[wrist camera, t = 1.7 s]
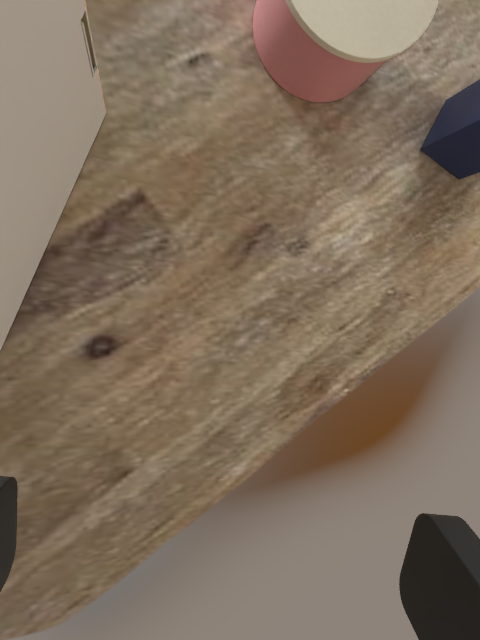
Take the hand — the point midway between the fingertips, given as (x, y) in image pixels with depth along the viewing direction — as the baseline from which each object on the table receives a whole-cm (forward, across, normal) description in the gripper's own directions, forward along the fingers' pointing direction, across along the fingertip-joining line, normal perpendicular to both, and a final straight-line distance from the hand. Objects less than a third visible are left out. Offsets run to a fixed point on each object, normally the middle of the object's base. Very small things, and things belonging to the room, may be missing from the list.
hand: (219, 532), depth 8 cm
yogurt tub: (+33, -6, -22) cm, 40 cm away
